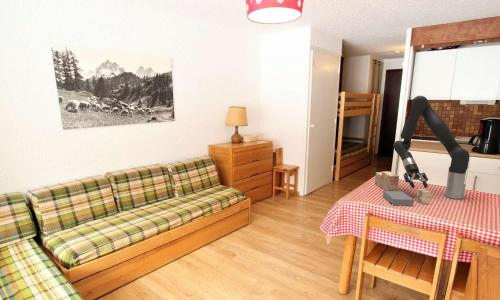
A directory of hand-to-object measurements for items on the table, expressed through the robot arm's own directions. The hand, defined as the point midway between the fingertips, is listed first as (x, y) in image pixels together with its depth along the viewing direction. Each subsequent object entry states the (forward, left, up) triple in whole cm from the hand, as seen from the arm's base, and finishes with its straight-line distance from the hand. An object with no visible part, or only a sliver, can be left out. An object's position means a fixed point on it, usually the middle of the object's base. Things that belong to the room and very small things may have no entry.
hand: (419, 187), depth 176 cm
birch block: (-1, +4, -9) cm, 10 cm away
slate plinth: (+14, +3, -9) cm, 17 cm away
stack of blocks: (+11, -25, -9) cm, 29 cm away
